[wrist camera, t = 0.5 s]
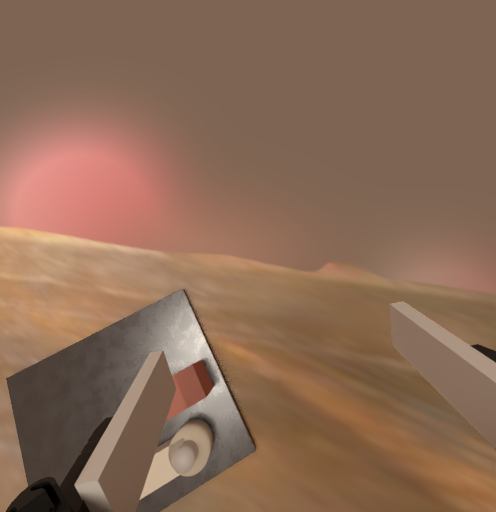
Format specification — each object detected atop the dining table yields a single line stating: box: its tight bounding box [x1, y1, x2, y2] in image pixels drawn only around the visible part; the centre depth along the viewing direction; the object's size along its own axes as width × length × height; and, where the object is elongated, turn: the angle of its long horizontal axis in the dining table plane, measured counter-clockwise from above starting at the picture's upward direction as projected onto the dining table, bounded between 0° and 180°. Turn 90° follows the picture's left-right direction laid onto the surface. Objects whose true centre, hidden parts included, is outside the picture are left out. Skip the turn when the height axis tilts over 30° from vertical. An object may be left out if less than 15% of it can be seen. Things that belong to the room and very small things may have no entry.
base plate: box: [7, 289, 256, 512], centre depth 42 cm, size 30×34×2 cm
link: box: [140, 419, 213, 500], centre depth 35 cm, size 25×6×7 cm, turn 118°
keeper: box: [166, 360, 214, 421], centre depth 39 cm, size 5×10×8 cm, turn 118°
